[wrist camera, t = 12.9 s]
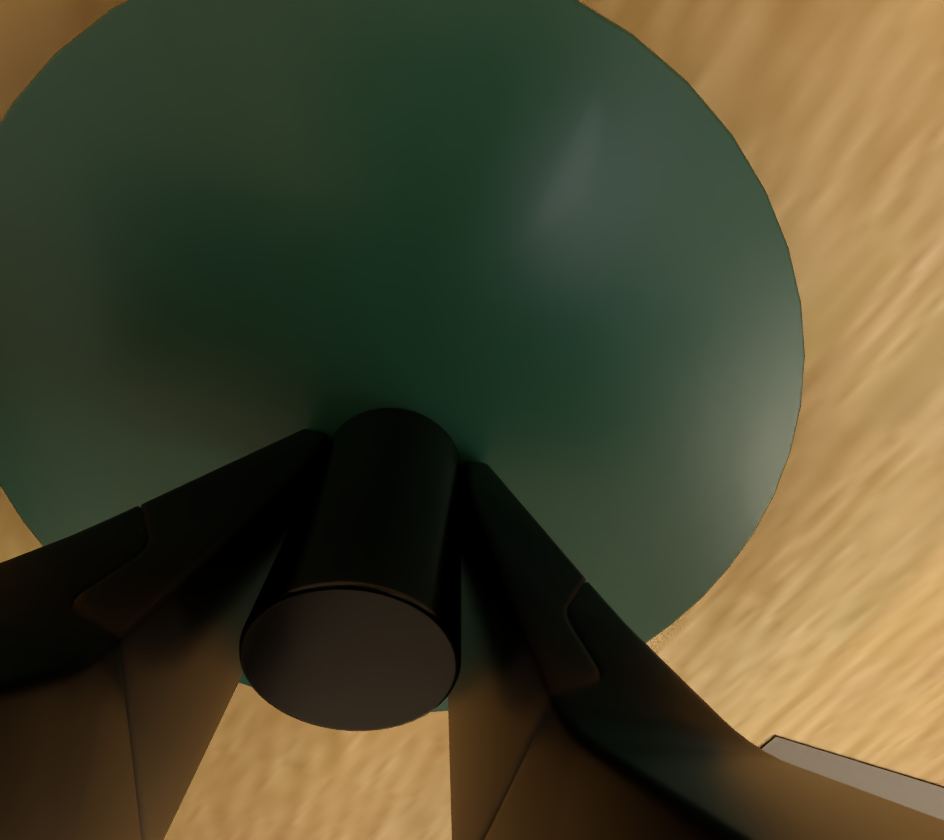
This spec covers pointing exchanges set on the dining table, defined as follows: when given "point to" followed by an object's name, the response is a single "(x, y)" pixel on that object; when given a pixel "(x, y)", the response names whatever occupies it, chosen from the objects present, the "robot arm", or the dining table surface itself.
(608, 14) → the dining table surface
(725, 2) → the dining table surface
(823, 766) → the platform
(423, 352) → the lid
